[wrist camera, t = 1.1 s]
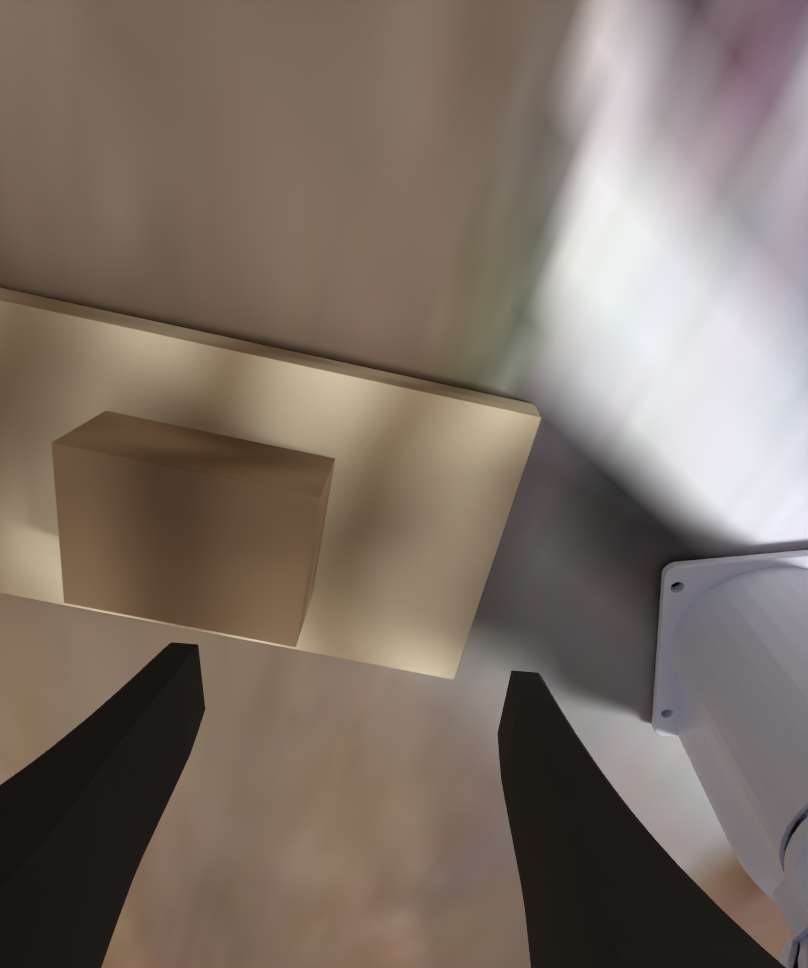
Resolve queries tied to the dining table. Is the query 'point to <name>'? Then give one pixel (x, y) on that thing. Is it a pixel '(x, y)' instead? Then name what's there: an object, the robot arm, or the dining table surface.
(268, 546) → the tan cardboard box
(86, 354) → the board
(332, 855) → the dining table surface
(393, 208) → the dining table surface
